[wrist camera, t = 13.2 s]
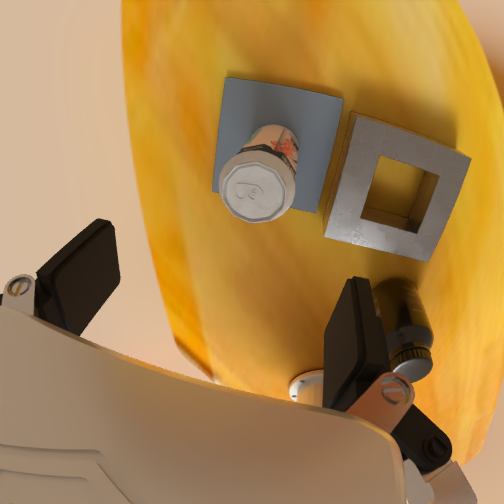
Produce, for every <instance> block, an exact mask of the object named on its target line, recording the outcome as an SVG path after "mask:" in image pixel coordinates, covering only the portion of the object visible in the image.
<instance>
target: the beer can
mask: <svg viewBox="0 0 504 504" xmlns="http://www.w3.org/2000/svg"><path fill="white" fill-rule="evenodd" d="M298 155H299V143H298V140H297V138H296V137H295V135H294V134H293V133H292V132H291V131H290V130H289V129H287V128H286V127H283V126H281V125H274V124H271V125H266V126H263V127H261V128H259V129H258V130H257V131H256V132H255V133H254V134H253V135H252V137H251V138H250V140H249V141H248V142H247V143H246V144H245V145H244V146H243V147H242V149H241V150H240V151H239V152H238V153H237V154H236V155H235V156H234V157H233V158H231V159H230V160H229V161H228V162H227V163H226V164H225V166H224V167H223V169H222V171H221V174H220V177H219V193H220V196H221V198H222V200H223V202H224V204H225V205H226V207H227V208H228V209H229V210H230V212H231V213H232V215H233V216H235V217H237V218H240V219H242V220H244V221H247V222H249V223H251V224H252V223H263V222H268V221H272V220H275V219H277V218H279V217H280V216H282V215H283V214H284V213H285V212H286V211H287V210H288V209H289V207H290V206H291V204H292V202H293V199H294V195H295V177H296V168H297V160H298Z"/></svg>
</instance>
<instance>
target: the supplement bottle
mask: <svg viewBox="0 0 504 504" xmlns="http://www.w3.org/2000/svg"><path fill="white" fill-rule="evenodd" d="M372 296H373V301H374V306H375V311H376V316H380V317H381V318H382V321H383V326H384V332H385V337H386V342H387V348H388V354H389V360H390V366H391V372H395V373H399V374H401V375H403V376H404V377H406V378H407V379H408V380H409V381H410V382H411V383H413V382H416V381H418V380H421V379H422V378H424V377H425V376H427V374H429V373H430V371H431V369H432V366H433V361H432V358H431V352H430V349H431V347H432V344H433V340H434V335H433V331H432V328H431V325H430V322H429V319H428V317H427V314H426V311H425V309H424V306H423V303H422V301H421V298H420V296H419V293H418V291H417V289H416V287H415V285H414V284H413V283H412V282H411V281H409V280H407V279H404V278H392V279H388V280H386V281H384V282H382V283H380V284H379V285H378V286H376V287H375V289H374V290H373V291H372Z"/></svg>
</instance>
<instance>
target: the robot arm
mask: <svg viewBox="0 0 504 504" xmlns="http://www.w3.org/2000/svg"><path fill="white" fill-rule="evenodd" d="M36 274H37V277H38V278H37V279H36V280H34V278H33V277H32V276H30V275H27V274H24V275H18V276H16V277H14V278H12V279H11V280H10V281H9V282H8V283H7V284H6V285H5V288H4V293H3V294H0V504H406V498H407V500H408V503H409V504H477V498H476V495H475V493H474V491H473V490H472V488H471V486H470V484H469V482H468V480H467V479H466V477H465V475H464V474H463V472H462V470H461V468H460V467H459V465H458V463H457V461H454V462H452V460H451V458H450V457H451V455H452V444H451V442H450V439H449V438H448V436H447V435H446V434H445V433H444V432H443V431H442V430H441V429H440V428H438V427H437V426H436V425H435V424H434V423H433V422H432V421H431V420H430V419H429V418H428V417H427V416H426V415H424V414H423V413H422V412H421V411H420V410H419V409H418V408H417V407H416V406H415V405H414V404H413V401H414V398H415V392H414V388H413V386H412V384H411V382H410V381H409V380H408V379H407V378H406V377H404V376H403V375H401V374H399V373H395V372H391V366H390V360H389V354H388V348H387V342H386V337H385V332H384V326H383V321H382V318H381V317H380V316H376V311H375V306H374V301H373V296H372V291H371V287H370V282H369V279H366V278H362V277H357V276H354V277H353V278H352V279H347V281H346V283H345V286H344V288H343V290H342V293H341V295H340V298H339V300H338V302H337V304H336V307H335V309H334V311H333V314H332V316H331V318H330V320H329V322H328V325H327V327H326V330H325V334H324V370H314V371H310V372H306V373H304V374H301V375H299V376H298V377H296V378H295V379H294V380H292V382H291V383H290V386H289V395H290V397H291V398H292V399H293V400H294V401H295V402H292V401H287V400H282V399H277V398H272V397H268V396H263V395H259V394H254V393H250V392H245V391H241V390H237V389H233V388H229V387H225V386H221V385H217V384H213V383H209V382H206V381H202V380H199V379H196V378H192V377H189V376H185V375H182V374H179V373H175V372H172V371H169V370H166V369H163V368H160V367H157V366H154V365H151V364H148V363H145V362H142V361H140V360H137V359H134V358H131V357H129V356H126V355H123V354H121V353H118V352H116V351H113V350H110V349H108V348H105V347H103V346H100V345H98V344H95V343H93V342H91V341H88V340H86V339H84V338H81V337H79V336H80V335H81V333H82V332H83V331H84V329H85V328H86V327H87V325H88V324H89V322H90V321H91V320H92V318H93V317H94V316H95V315H96V313H97V312H98V311H99V309H100V308H101V307H102V305H103V304H104V303H105V301H106V300H107V299H108V298H109V296H110V295H111V294H112V292H113V291H114V290H115V289H116V287H117V286H118V285H119V283H120V271H119V263H118V255H117V246H116V237H115V228H114V226H113V225H112V223H111V222H110V221H108V220H104V219H99V218H98V219H96V220H95V221H94V222H92V223H91V224H90V225H89V226H87V227H86V228H85V229H84V230H83V231H81V232H80V233H79V234H78V235H77V236H75V237H74V238H73V239H72V240H71V241H70V242H69V243H67V244H66V245H65V246H64V247H63V248H62V249H61V250H59V251H58V252H57V253H56V254H55V255H54V256H53V257H52V258H51V259H50V260H48V262H46V263H45V264H44V265H43V266H42V267H41V268H40V269H39V270H38V271H37V272H36Z"/></svg>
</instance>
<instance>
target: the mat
mask: <svg viewBox="0 0 504 504" xmlns="http://www.w3.org/2000/svg"><path fill="white" fill-rule="evenodd" d="M343 102H344V99H342V98H338V97H334V96H330V95H326V94H322V93H317V92H313V91H309V90H304V89H299V88H294V87H289V86H283V85H278V84H272V83H266V82H259V81H252V80H244V79H236V78H225V84H224V92H223V99H222V107H221V115H220V123H219V131H218V140H217V149H216V158H215V167H214V177H213V188H212V192H216V193H219V177H220V174H221V171H222V169H223V167H224V166H225V164H226V163H227V162H228V161H229V160H230V159H231V158H233V157H234V156H235V155H236V154H237V153H238V152H239V151H240V150H241V149H242V147H243V146H244V145H245V144H246V143H247V142H248V141H249V140H250V138H251V137H252V135H253V134H254V133H255V132H256V131H257V130H258V129H259V128H261V127H263V126H266V125H271V124H274V125H281V126H283V127H286V128H287V129H289V130H290V131H291V132H292V133H293V134H294V135H295V137H296V138H297V140H298V143H299V155H298V160H297V168H296V177H295V195H294V199H293V202H292V204H291V206H290V208H294V209H299V210H303V211H307V212H312V213H316V212H317V208H318V205H319V201H320V197H321V193H322V189H323V186H324V182H325V178H326V174H327V170H328V166H329V162H330V158H331V154H332V150H333V146H334V142H335V137H336V133H337V129H338V125H339V120H340V116H341V111H342V107H343Z"/></svg>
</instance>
